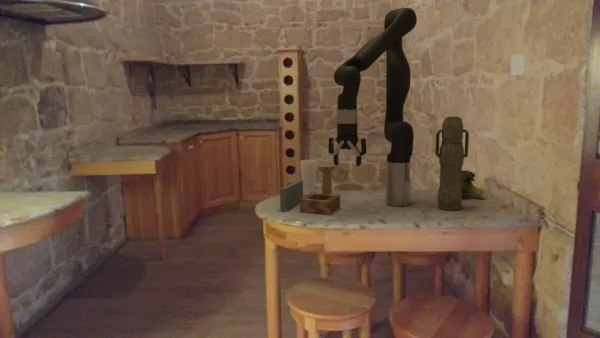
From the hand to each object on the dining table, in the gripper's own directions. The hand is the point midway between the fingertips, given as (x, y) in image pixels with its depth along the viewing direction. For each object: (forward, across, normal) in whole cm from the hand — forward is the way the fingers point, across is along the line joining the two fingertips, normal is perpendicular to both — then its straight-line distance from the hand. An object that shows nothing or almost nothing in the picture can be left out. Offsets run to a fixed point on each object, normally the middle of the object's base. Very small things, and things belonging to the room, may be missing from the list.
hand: (347, 165), depth 178 cm
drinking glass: (+18, +25, -22) cm, 38 cm away
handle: (+18, +13, -13) cm, 26 cm away
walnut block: (+18, +11, 0) cm, 21 cm away
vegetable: (+18, -39, -40) cm, 59 cm away
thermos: (+18, -35, -19) cm, 44 cm away
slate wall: (+18, +23, -1) cm, 29 cm away
